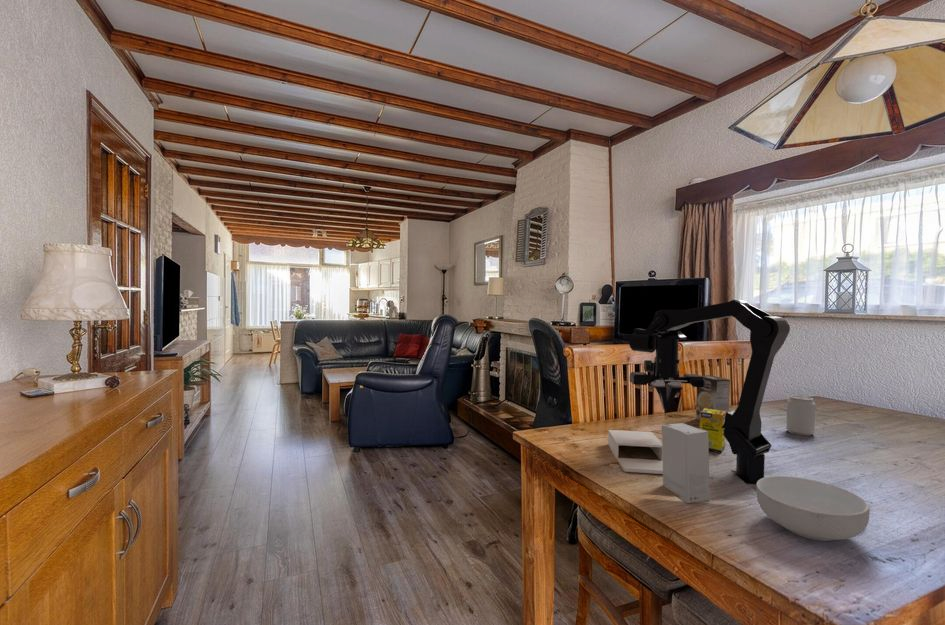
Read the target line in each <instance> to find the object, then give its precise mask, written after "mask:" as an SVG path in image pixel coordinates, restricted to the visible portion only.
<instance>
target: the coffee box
mask: <svg viewBox="0 0 945 625" xmlns="http://www.w3.org/2000/svg"><path fill="white" fill-rule="evenodd" d="M701 376H702V377H703V378H704V379H705V387H696V398H695V399H696V402H695V405H696V406H695V420H698V421H700V412H701V411H702V410H703V409H704V408H707V409H713V410H720V411H726V413H727V412H730V387H731V380H730V379H729V378H724V377H721V376H717V375H712V374H708V375H707V374H706V375H701Z"/></svg>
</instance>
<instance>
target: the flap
mask: <svg viewBox="0 0 945 625" xmlns="http://www.w3.org/2000/svg"><path fill="white" fill-rule="evenodd" d="M616 460H617V461H618V463H619V465H620V467H621V469H622V471H623V472H624V473H639V474H640V473H641V474H654V475H663V460H660V459H659V460H658V459H646V458H645V459H644V458H643V459H642V458H630V457H629V458H628V457H627V458H626V457H624V458H623V457H618V458H617V459H616Z"/></svg>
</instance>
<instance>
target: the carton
mask: <svg viewBox="0 0 945 625" xmlns="http://www.w3.org/2000/svg"><path fill="white" fill-rule="evenodd" d="M607 436H608V438H607V445H608V447H609V448H610V450H611V452H612V454H613V456H614V458H615V459H616V460H617V458H619V447H623V446H625V447H636V448H637V447H641V448H642V447H643V448H650V449H651V450H652V451H653V453H654V454H655V455H656V457H657V458H658V459H659V460H663V453H662V441H661V440H660V439H659V438H658V437H657V436H656V435H655V434H654V433H653V432H652V431H640V430H639V431H636V430H635V431H634V430H622V429H621V430H620V429H619V430H618V429H616V430H615V429H608V433H607Z"/></svg>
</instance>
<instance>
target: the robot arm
mask: <svg viewBox="0 0 945 625" xmlns="http://www.w3.org/2000/svg"><path fill="white" fill-rule="evenodd" d="M731 317H733V318H735V320H737V321H738V323H740V324H741V325H742V326H743V327H745V328H746V329H747V330H749V331H750V334H749V343H750V348H751V356H750V359H749V363H748V367H747V370H746V374H745V376H744V377H745V378H744V383H743V386H742V389H741V393H740V397H739V400H738V404H737V408H736V409H733V410H731V411H730V410H729V412H727V413H726V415H725V422H724V425H723V426H722V427H721V428H724V437H725V441H727V442H728V444H729V447H730V450H731V453H732V454H733V455H735V456H736V460H735V461H736V462H735V463H736V464H735V466H736V468H735V470H733V469H732V470H730V471H731V472H732V474H734V475H735V476H737V477H738V478H739V479H741V481H742V482H744V483H746V484H747V483H748V484H757V481H758V480H760V479H762V478H765V477H766V476H765V461H766V459H765V457H766V455H765V454H766V453H769V452H770V450H771V448H772V444H771V443H770V442H769V440H768V439H767V438H766V437H765V436H764V435H763V434H762V419H761V413H760V411H761V407H762V403H763V400H764V397H765V396H764V395H765V393H766V389H767V385H768V383H769V382H768V381H769V378H770V375H771V374H770V373H771V370H772V367H773V363H774V359H775V356H776V355H777V353H778V352H779V351H780V349H782V346H784V344H785V341H786V339H787V337H788V336H789V334H790V330H791V327H790V323H788V321H787V320H786V319H784V318H783V317H780V316H775V315H772V314H770V313H768V312H766V311H764V310H762V309H760V308H759V307H756V306H754V305H752V304H750V303H749V302H748V301H746V300H742V299H732V300H730V301H725V302H721V303H716V304H711V305H705V306H699V307H695V308H688V309H660V310H657V311H656V312H655V314H654V316H653V319H652V321H651V322H650V323H649V325H648V326H647V327H646V328H645V329H644V328H633V329H634V330H633V333H632V334H631V336H630V338H629V340H628V342H629V347H630V349H631V351H634V352H642V353H651V354H652V353H653V354H654V352H655V356H654V360H653V361H652V359H651V360H649V359H647V360H643V370H644V371H643V372H641V371H632V372H631V373H630V374H629V382H630V383H632V384H633V385H636V386H647V385H648V384H649V383H650V386H651V387H653V388H654V389H655V390H656V392H657V394H658V398H659V400H660V403H661V406H662V409H663V410H664V411H669V408H670V406H671V405H672V402H673V400H674V398H675V397H676V395H677V394H678V393H679V391H682V390H684V389H683V386H682V384H690V385H691V386H692V387H693V388H697V387H705V379H704V378H703V377H702V376H703V375H700V374H697V373H683V375H682V376H680V375H679V373H678V372H679V371H678V370H679V364H680V359H679V340H680V341H681V340H687V339H688V337H687V336H686V335H685V334H684V333H683V332H682V331H681V330H680V329H682V328H685V327H688V326H690V325H692V324H694V323H700V322H706V321H707V322H708V321H713V320H714V321H715V320H720V319H725V318H726V319H727V318H731ZM670 331H673V332H670ZM660 334H661V335H660ZM648 373H650V374H648Z"/></svg>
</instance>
